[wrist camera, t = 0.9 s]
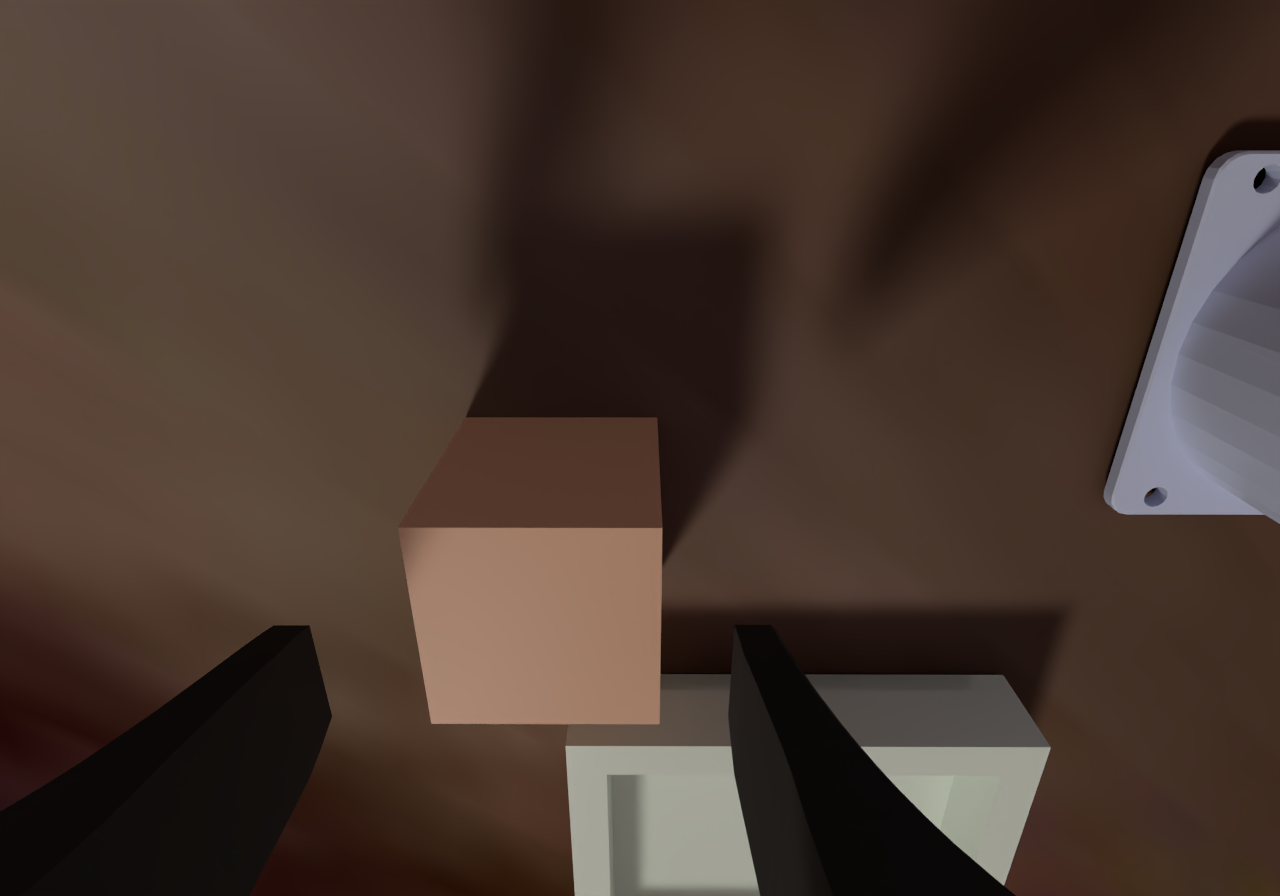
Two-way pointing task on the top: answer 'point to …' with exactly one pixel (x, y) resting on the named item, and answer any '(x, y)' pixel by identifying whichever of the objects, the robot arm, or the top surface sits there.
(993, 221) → the top surface
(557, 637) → the block
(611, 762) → the tray
